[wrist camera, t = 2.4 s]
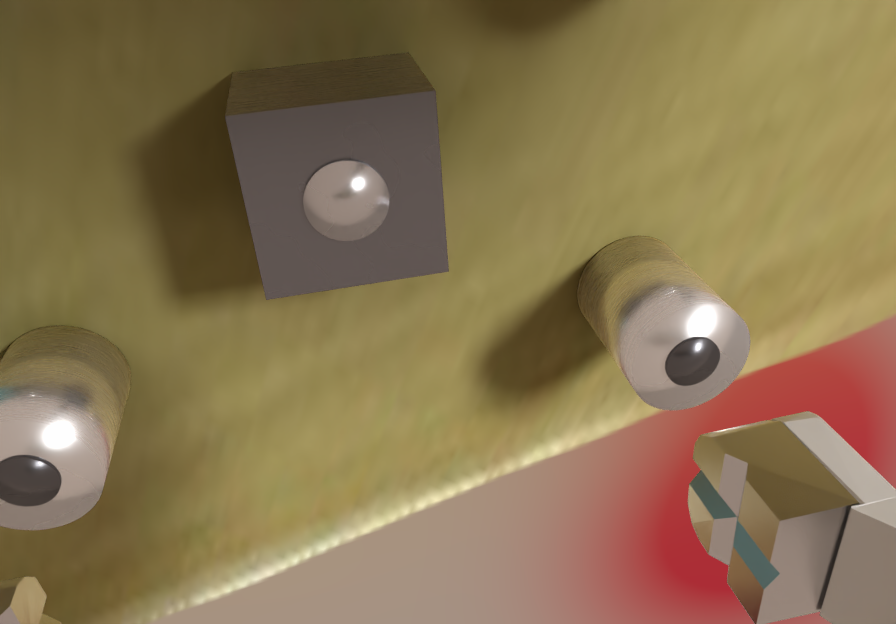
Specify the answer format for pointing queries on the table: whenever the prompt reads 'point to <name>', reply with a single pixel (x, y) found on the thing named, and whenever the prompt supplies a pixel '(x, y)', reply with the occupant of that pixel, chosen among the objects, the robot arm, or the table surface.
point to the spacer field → (109, 378)
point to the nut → (339, 172)
